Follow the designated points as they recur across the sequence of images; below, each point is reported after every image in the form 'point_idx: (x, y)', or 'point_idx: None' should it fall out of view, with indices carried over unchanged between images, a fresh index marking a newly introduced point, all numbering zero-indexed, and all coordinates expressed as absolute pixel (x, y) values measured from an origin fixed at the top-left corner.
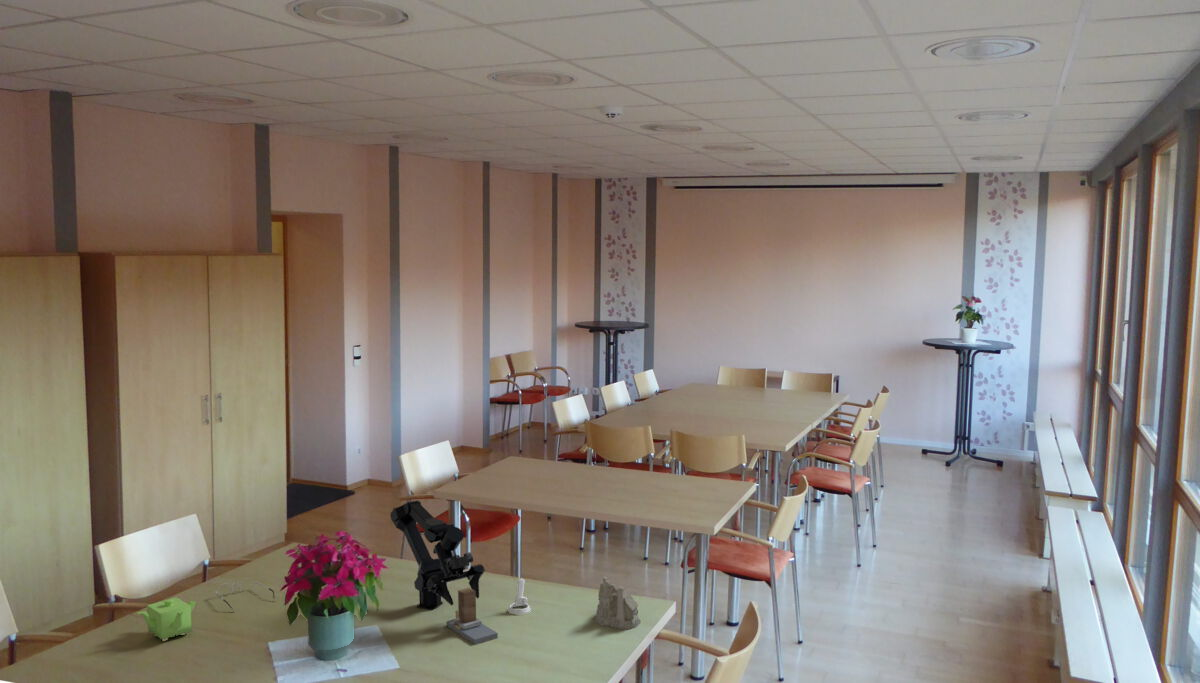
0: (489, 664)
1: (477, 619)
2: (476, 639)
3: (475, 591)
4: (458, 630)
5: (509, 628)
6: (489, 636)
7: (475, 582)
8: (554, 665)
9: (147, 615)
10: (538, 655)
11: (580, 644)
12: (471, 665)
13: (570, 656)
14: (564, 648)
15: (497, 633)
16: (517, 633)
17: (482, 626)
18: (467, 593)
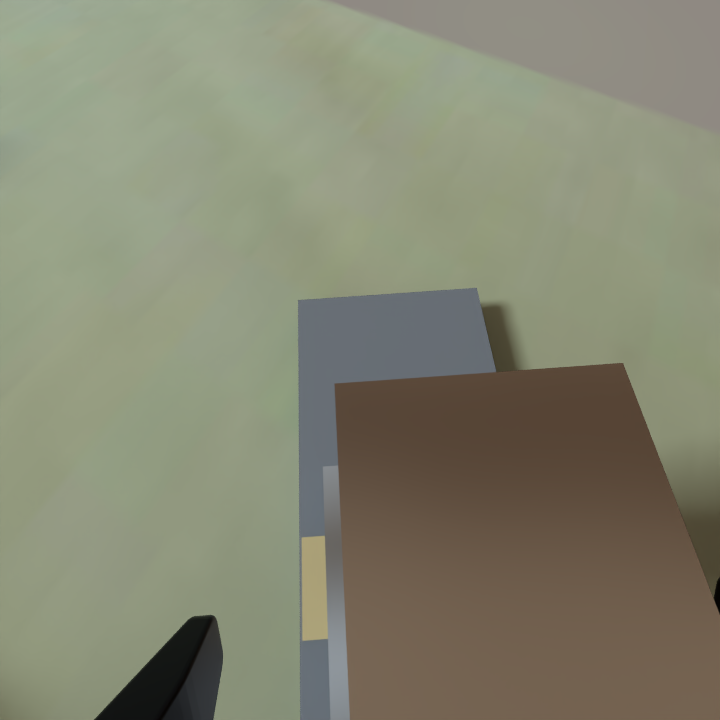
0: (485, 112)
1: (335, 522)
2: (463, 290)
3: (336, 389)
4: None
5: (150, 401)
6: (362, 300)
7: None
8: (265, 22)
9: None
10: (259, 90)
11: (50, 89)
12: (566, 136)
13: (167, 43)
14: (128, 90)
15: (299, 302)
16: (168, 309)
17: (328, 455)
18: (542, 370)
